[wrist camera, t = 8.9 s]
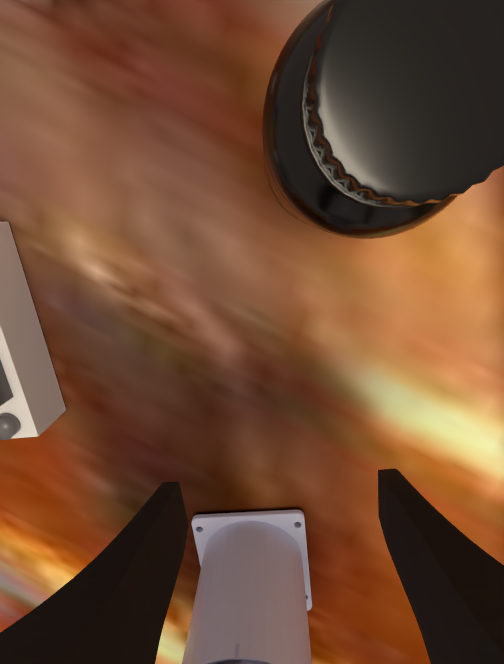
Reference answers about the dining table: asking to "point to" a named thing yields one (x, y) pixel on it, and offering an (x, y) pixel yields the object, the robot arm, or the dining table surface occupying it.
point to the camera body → (23, 354)
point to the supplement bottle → (385, 112)
